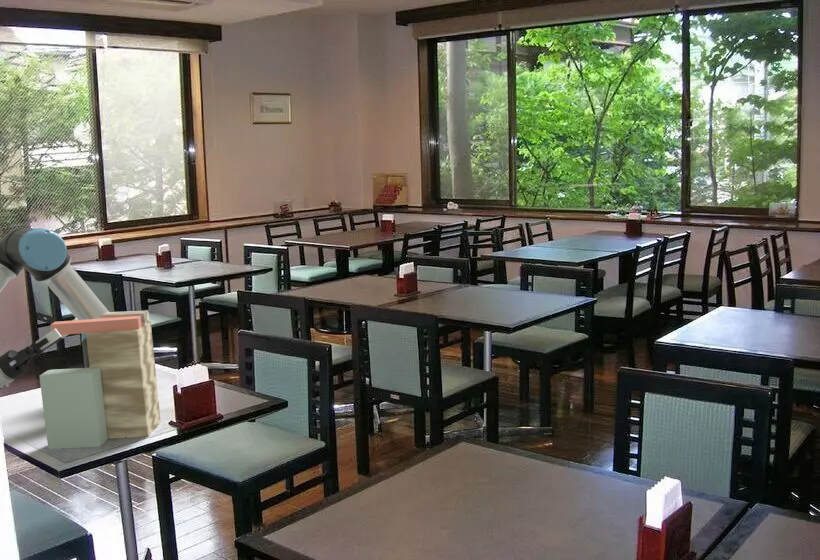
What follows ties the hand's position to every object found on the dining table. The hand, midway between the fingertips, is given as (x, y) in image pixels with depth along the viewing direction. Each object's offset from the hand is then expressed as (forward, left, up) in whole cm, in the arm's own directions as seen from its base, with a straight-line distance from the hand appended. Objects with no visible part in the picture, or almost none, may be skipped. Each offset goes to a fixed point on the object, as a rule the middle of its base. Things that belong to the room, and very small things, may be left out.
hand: (68, 327), depth 232 cm
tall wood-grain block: (-4, +12, -31) cm, 34 cm away
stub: (0, +8, -1) cm, 8 cm away
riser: (+6, +1, -31) cm, 32 cm away
